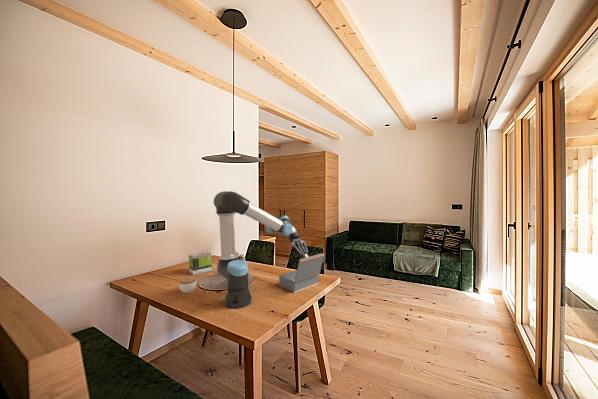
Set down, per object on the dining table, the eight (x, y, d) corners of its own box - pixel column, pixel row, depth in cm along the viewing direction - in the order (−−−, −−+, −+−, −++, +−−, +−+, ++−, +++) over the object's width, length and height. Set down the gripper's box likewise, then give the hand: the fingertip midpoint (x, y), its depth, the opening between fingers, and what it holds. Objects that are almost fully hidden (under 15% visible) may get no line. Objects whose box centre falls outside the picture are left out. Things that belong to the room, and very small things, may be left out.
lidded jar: (200, 290, 166) (199, 276, 165) (185, 295, 157) (184, 281, 156) (190, 286, 172) (190, 273, 171) (175, 292, 163) (175, 277, 162)
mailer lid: (294, 281, 159) (295, 282, 159) (299, 259, 155) (300, 260, 154) (318, 273, 174) (319, 274, 173) (323, 253, 170) (324, 253, 169)
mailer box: (294, 292, 160) (294, 281, 159) (279, 285, 172) (279, 275, 171) (318, 283, 174) (318, 273, 174) (303, 277, 186) (302, 268, 186)
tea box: (207, 268, 212) (207, 250, 212) (212, 271, 204) (211, 253, 204) (189, 272, 203) (188, 254, 202) (193, 275, 195) (192, 256, 194)
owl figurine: (235, 277, 188) (234, 255, 188) (223, 275, 194) (222, 253, 193) (250, 270, 204) (250, 250, 203) (239, 268, 210) (239, 248, 209)
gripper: (297, 236, 183) (313, 264, 171) (283, 239, 174) (299, 268, 162) (301, 230, 179) (319, 258, 167) (287, 232, 170) (304, 262, 158)
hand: (309, 263), depth 165 cm, fingers closed
